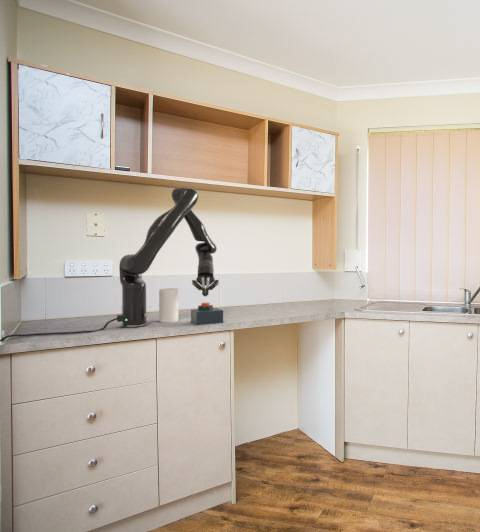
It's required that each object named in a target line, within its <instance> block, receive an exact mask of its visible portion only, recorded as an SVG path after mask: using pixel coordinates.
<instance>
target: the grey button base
mask: <svg viewBox="0 0 480 532" xmlns="http://www.w3.org/2000/svg"><path fill="white" fill-rule="evenodd" d="M190 323H192V324H194V325H196V326H203V325H214V324H224V309H221V308H218V307H214V305H213V304H210V306H201V304H200V305H198V306H197V308H194V309H190Z"/></svg>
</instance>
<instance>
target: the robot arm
mask: <svg viewBox="0 0 480 532" xmlns="http://www.w3.org/2000/svg"><path fill="white" fill-rule="evenodd" d="M171 199H172V201H173V203H174V206H172V208H170V209H168V210H167V211H165V212H164V213H162V214H160V215H159V216H158V217H156V219H155V220H154V221H153V222H152V224H151V225H150V226H149V228H148V230H147V233H146V236H145V241H144V243H143V244H142V245H141V247H140V248H139V249H138V251H137V252H135V254H130V253H129V254H126V255H124V256H122V257H121V258H120V260H119V282H120V285H121V314H116V318H113V319H110V320H108V321H107V322H106V323H105V324H104V326H103V327H102V328H99V329H95V330H80V331H79V330H78V331H61V332H60V331H59V332H38V333H27V334H8V335H6V336H4V337H2V338H1V339H0V342H3V341H4V340H6V339H8V338H12V337H31V336H32V337H34V336H47V335H48V336H51V335H53V336H54V335H70V334H72V335H73V334H84V333H85V334H86V333H95V332H99V331H103V330H105V329H106V328H107V326H108V325H109V324H110V323H112V322H114V321H116V322H117V323H121V327H122V329H125V328H127V329H128V328H140V327H146V326H147V317H148V313H147V282H145V281H144V279H143V278H142V276H143V274H144V273H146V272H147V271H148V270H149V269H150V267H151V266H152V264H153V262H154V260H155V259H156V257H157V255H158V253H159V252H160V251H161V249H162V248H163V247H164V245H165V244H166V242H167V241H168V240H169V238H170V237H171V236H172V234H173V233H174V232H175V230H176V229H177V227H178V226H179V224H180V223H181V222H182V220H185V222H186V224H187V225H188V227H189V230H190V232H191V233H192V236H193V239H194V241H196V242H199V243H197V244H196V245H195V247H194V249H195V253H196V254H197V257H198V265H197V277H196V279H192V280H191V283H192V286H193V287H195V289H197V290H198V291H201V296H203V297H208V296H209V291H213V290H214V289H215V288H216V287H217V286H218V285H219V282H220V281H219V279H215V276H214V273H215V272H214V257H213V254H215V253H216V252H217V251H218V250H217V249H218V248H217V245H216V243H215V242H214V240H212V238H211V237H210V236H209V234H208V231H207V230H206V227H205V224H204V223H203V222H202V220H201V219H200V218H199V217H198V215H197V214H196V213H195V212H194V211H193V208H194V207H195V206H196V204H197V203H198V201H199V193H198V191H197V190H196V189H194V188H191V187H182V186H177V187H174V189H172V191H171Z"/></svg>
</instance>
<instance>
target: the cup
mask: <svg viewBox="0 0 480 532" xmlns="http://www.w3.org/2000/svg"><path fill="white" fill-rule="evenodd" d="M178 321H179V288H159V289H158V322H159V323H175V322H178Z"/></svg>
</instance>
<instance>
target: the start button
mask: <svg viewBox="0 0 480 532" xmlns="http://www.w3.org/2000/svg"><path fill="white" fill-rule="evenodd" d="M200 305H201V306H210V305H211V304H210V302H201V304H200Z"/></svg>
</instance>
